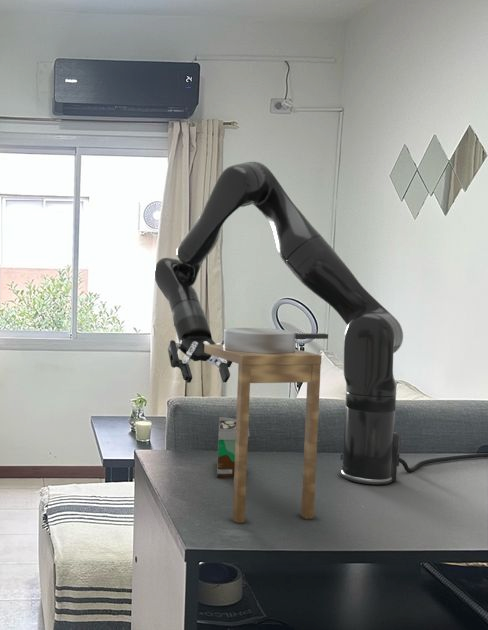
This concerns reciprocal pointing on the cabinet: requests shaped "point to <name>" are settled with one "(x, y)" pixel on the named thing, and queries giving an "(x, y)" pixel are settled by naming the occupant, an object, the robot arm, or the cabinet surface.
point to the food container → (226, 447)
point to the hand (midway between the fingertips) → (208, 380)
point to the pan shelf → (271, 367)
